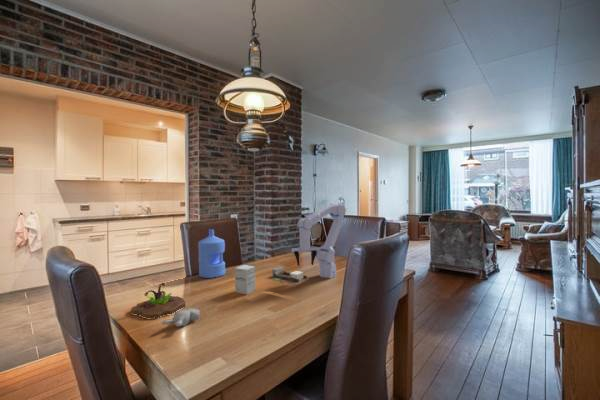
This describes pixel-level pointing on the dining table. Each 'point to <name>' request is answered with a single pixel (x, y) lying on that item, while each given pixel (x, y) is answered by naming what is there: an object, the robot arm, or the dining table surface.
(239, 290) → the supplement box
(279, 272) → the gauge board
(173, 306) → the plant
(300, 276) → the white block with bar
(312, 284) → the dining table surface
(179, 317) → the bunny figurine
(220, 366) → the dining table surface
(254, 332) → the dining table surface
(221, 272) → the water jug
